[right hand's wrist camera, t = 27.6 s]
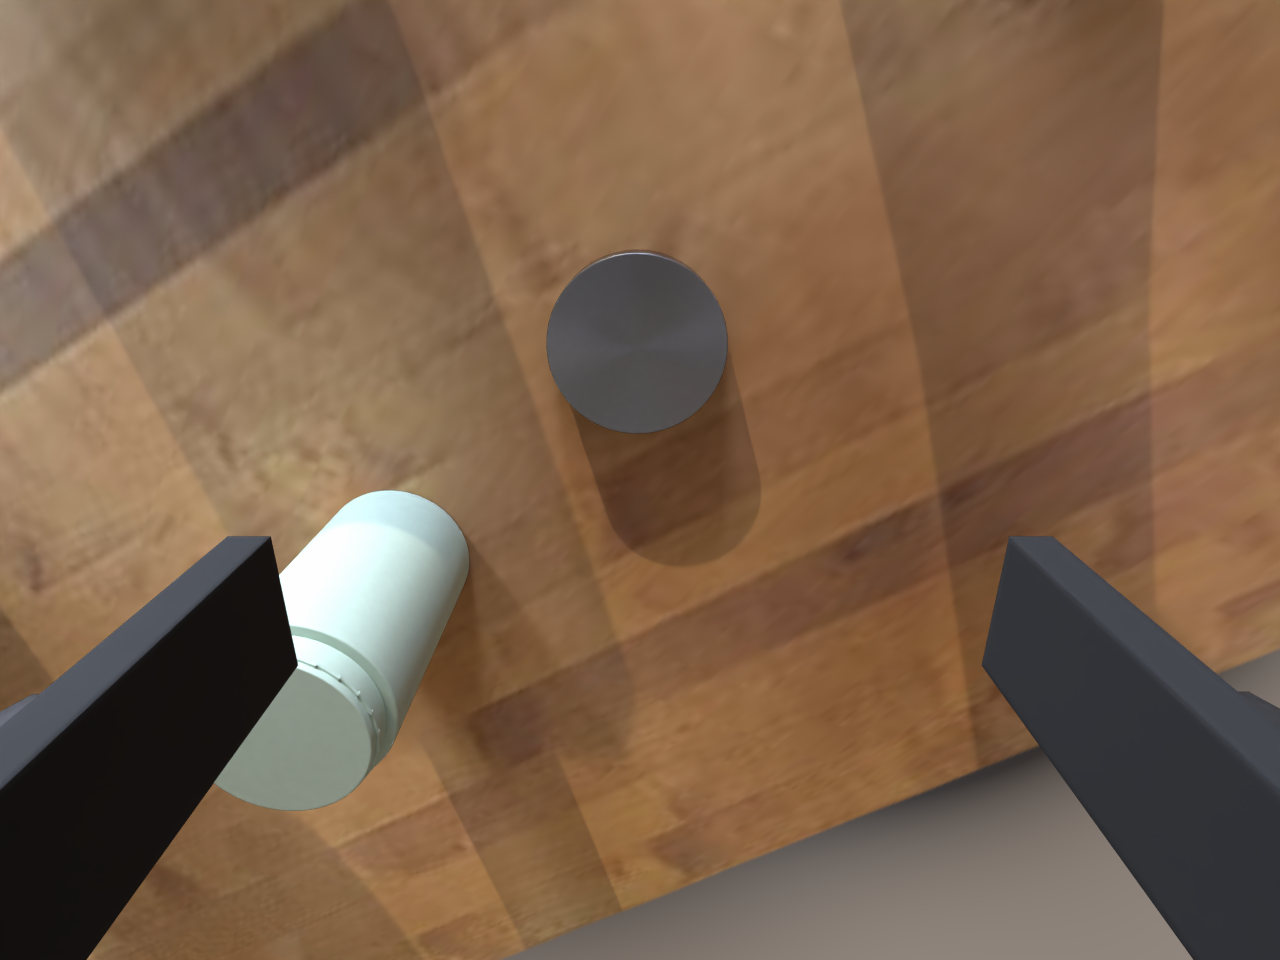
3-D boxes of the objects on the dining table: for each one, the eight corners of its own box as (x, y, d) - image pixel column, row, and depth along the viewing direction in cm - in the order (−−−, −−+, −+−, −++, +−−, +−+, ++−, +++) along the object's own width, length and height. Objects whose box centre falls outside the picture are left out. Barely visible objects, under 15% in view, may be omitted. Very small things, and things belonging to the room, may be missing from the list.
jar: (497, 544, 41) (424, 726, 27) (421, 639, 44) (318, 850, 30) (373, 462, 40) (226, 611, 26) (301, 565, 42) (131, 753, 28)
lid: (544, 411, 38) (539, 422, 37) (558, 238, 35) (554, 240, 33) (708, 431, 39) (711, 443, 37) (737, 262, 36) (742, 266, 34)
